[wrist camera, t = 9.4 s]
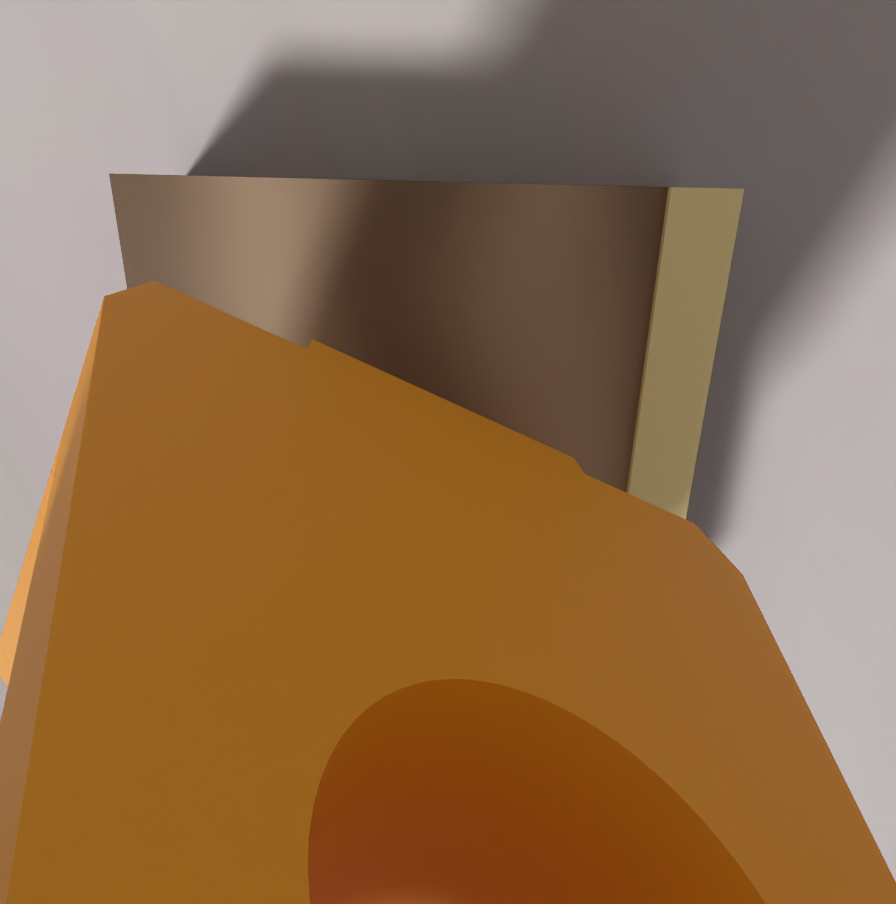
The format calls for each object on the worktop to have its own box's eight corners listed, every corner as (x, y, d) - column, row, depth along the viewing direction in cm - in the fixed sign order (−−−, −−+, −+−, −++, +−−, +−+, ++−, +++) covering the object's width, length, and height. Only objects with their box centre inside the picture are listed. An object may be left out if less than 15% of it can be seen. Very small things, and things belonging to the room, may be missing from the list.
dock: (680, 192, 18) (744, 188, 14) (620, 611, 23) (654, 695, 19) (181, 180, 18) (104, 173, 14) (232, 602, 23) (186, 683, 19)
